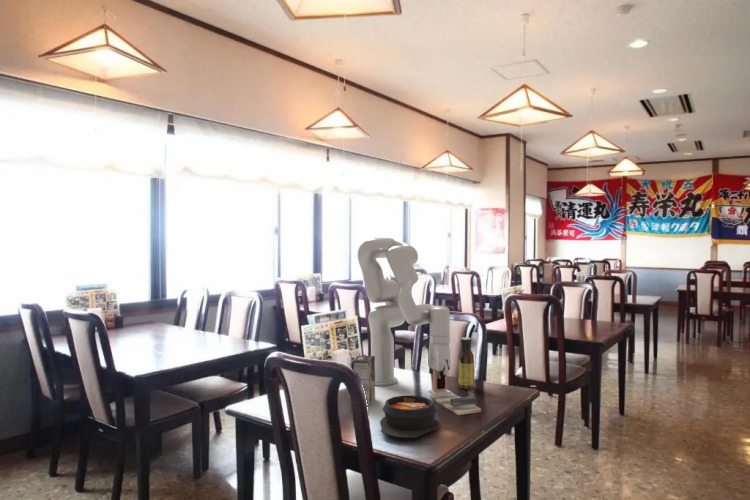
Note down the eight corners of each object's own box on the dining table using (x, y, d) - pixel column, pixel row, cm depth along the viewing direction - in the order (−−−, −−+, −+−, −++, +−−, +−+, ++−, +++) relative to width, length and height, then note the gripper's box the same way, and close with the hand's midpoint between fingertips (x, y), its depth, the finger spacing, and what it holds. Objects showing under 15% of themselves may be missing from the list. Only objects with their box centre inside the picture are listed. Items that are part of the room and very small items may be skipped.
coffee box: (358, 397, 191) (358, 354, 191) (375, 398, 190) (375, 355, 190) (352, 405, 182) (352, 360, 182) (370, 406, 181) (370, 361, 181)
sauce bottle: (462, 384, 208) (462, 335, 208) (476, 386, 205) (476, 337, 204) (455, 388, 203) (455, 338, 203) (469, 390, 199) (469, 340, 199)
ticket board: (430, 398, 190) (430, 387, 190) (451, 395, 193) (451, 385, 193) (458, 415, 172) (458, 403, 171) (481, 411, 175) (481, 400, 175)
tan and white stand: (428, 392, 194) (428, 369, 194) (444, 390, 197) (444, 367, 196) (434, 395, 189) (434, 372, 189) (451, 393, 192) (451, 370, 192)
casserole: (393, 412, 175) (393, 388, 174) (447, 419, 168) (447, 393, 168) (367, 439, 151) (367, 411, 151) (428, 448, 145) (428, 418, 144)
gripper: (421, 336, 199) (421, 383, 199) (440, 344, 184) (440, 394, 184) (438, 335, 201) (438, 381, 202) (458, 342, 187) (459, 392, 187)
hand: (439, 387), depth 193 cm, fingers closed
